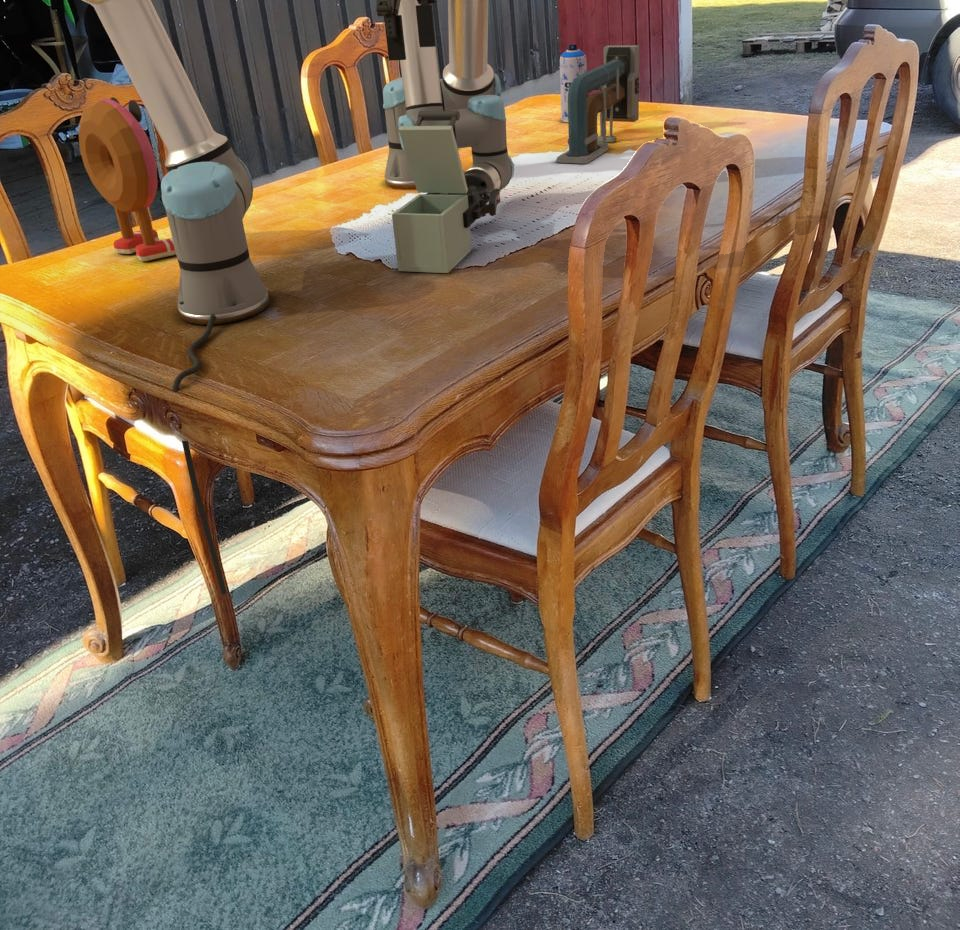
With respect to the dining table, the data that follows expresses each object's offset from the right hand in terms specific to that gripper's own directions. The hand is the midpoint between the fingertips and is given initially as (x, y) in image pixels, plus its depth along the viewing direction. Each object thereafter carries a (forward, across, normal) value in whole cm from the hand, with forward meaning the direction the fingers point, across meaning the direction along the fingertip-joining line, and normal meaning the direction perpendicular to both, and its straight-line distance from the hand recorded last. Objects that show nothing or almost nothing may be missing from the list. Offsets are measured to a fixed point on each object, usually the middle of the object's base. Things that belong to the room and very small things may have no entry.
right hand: (438, 219), depth 179 cm
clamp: (-85, -11, -7) cm, 86 cm away
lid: (0, 0, +10) cm, 10 cm away
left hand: (+4, 0, +29) cm, 30 cm away
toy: (+5, +62, -7) cm, 63 cm away
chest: (+3, 0, -7) cm, 7 cm away
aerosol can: (-117, +3, -7) cm, 118 cm away
